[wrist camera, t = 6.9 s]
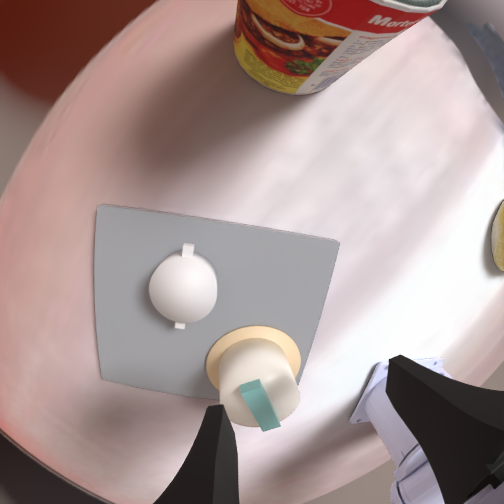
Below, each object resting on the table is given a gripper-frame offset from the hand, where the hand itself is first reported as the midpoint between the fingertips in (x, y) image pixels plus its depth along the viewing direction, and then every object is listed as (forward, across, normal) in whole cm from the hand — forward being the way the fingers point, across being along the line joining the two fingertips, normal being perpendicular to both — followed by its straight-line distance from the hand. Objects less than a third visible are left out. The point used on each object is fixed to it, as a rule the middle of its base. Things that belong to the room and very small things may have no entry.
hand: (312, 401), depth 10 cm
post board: (+10, +5, 0) cm, 11 cm away
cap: (+9, +2, +4) cm, 10 cm away
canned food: (+10, -5, -18) cm, 21 cm away
